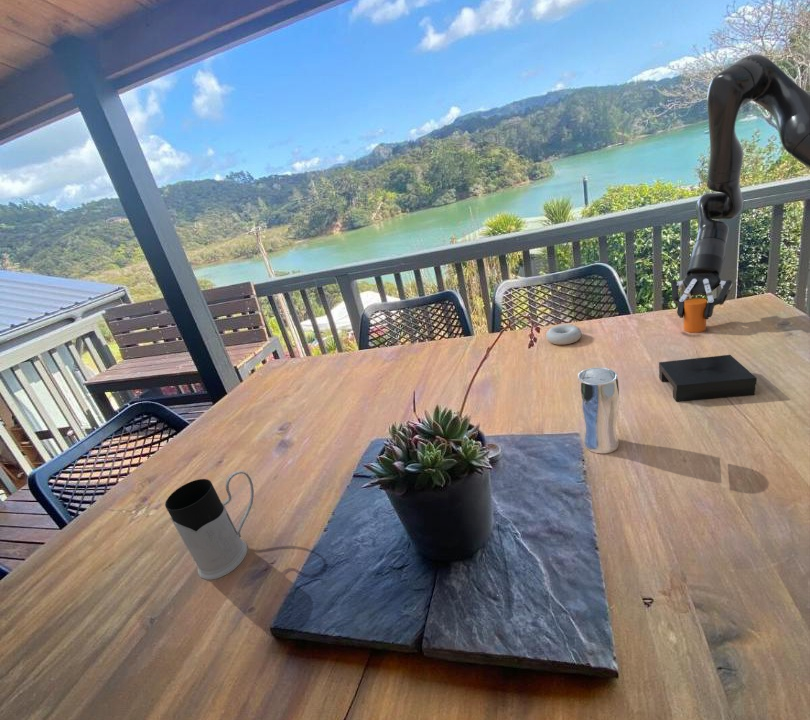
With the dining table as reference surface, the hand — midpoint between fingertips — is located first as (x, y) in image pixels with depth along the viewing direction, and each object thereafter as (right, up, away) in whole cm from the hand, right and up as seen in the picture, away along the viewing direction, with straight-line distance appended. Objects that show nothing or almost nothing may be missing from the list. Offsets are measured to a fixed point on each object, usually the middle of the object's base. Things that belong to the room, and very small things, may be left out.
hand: (693, 317), depth 115 cm
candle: (+2, -3, +3) cm, 5 cm away
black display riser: (-12, -17, -21) cm, 30 cm away
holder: (-107, -46, -35) cm, 122 cm away
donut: (-29, -5, +15) cm, 33 cm away
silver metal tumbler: (-38, -28, -31) cm, 57 cm away
